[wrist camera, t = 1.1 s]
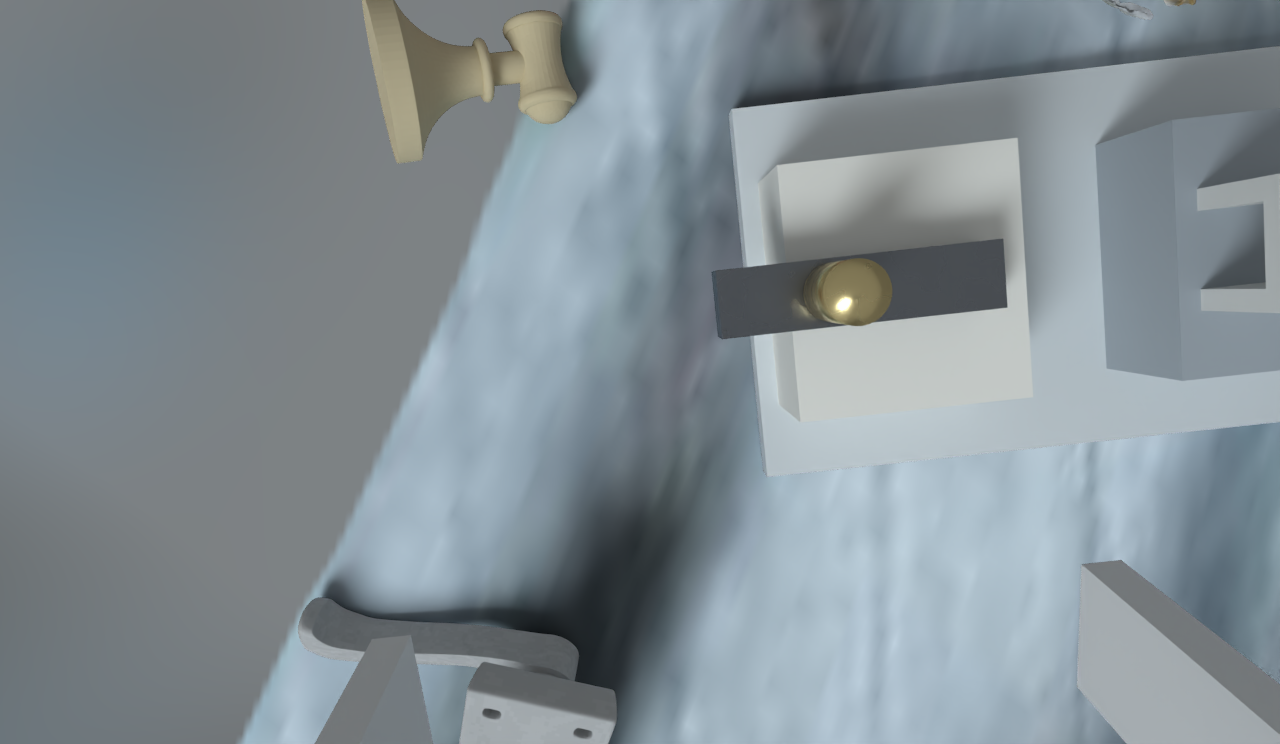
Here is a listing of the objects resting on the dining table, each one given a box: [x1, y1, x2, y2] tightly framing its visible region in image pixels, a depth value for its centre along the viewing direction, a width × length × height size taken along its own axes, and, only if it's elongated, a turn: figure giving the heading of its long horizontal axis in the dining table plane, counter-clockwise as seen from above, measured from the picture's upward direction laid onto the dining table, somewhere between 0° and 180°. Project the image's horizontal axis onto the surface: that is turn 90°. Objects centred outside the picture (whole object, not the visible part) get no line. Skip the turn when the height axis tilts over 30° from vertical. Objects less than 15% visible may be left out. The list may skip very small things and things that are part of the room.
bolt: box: [712, 239, 1008, 339], centre depth 33 cm, size 3×12×6 cm, turn 97°
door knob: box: [362, 0, 577, 163], centre depth 40 cm, size 10×8×8 cm
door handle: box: [298, 598, 617, 744], centre depth 43 cm, size 18×8×20 cm
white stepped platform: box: [729, 46, 1280, 477], centre depth 37 cm, size 20×30×12 cm, turn 96°
